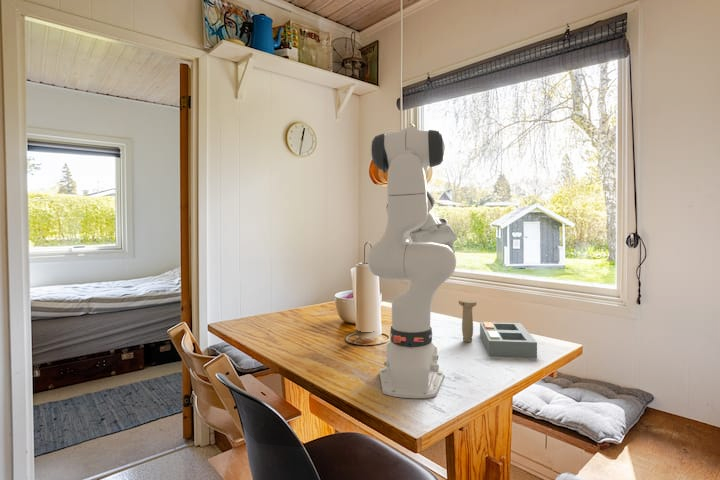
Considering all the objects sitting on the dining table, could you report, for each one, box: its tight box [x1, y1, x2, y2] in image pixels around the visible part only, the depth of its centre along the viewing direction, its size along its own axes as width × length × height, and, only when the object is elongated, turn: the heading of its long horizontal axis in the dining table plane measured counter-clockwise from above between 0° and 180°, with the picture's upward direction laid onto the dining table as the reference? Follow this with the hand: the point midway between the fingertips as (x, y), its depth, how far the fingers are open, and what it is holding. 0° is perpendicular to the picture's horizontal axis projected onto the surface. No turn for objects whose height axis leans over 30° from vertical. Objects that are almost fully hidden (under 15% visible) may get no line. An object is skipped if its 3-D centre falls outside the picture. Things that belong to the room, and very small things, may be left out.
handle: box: [458, 299, 477, 343], centre depth 148 cm, size 5×6×15 cm
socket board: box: [479, 321, 538, 359], centre depth 143 cm, size 24×15×6 cm, turn 170°
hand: (444, 256), depth 156 cm, fingers open, 8 cm apart
